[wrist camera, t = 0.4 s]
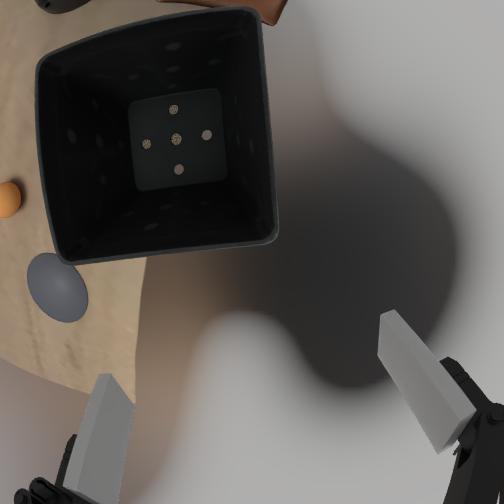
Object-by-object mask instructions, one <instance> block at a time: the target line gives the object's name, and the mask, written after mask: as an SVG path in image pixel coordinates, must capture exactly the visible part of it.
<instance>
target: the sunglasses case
mask: <svg viewBox="0 0 504 504" xmlns="http://www.w3.org/2000/svg"><path fill="white" fill-rule="evenodd" d="M156 1H158V2H174V3H175V2H176V3H187V4H195V5H200V6H206V7H211V8H218V7H229V6H248V7H252V8H254V9H256V10H257V11H258V12H259V14H260V16H261V22H262V23H265V24H267V25H270V26H274V25H276V24H277V22H278V20H279V18H280V16H281V14H282V11H283V9H284V7H285V5H286V4H287V1H288V0H156Z"/></svg>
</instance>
